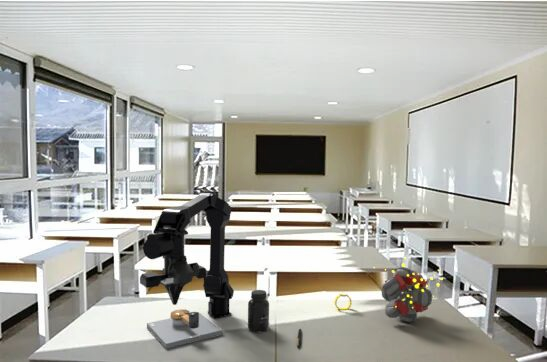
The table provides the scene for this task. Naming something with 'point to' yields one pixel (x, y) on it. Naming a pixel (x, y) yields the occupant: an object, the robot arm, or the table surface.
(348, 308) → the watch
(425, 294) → the molecule model
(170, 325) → the base
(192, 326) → the crank handle
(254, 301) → the supplement bottle
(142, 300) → the table surface
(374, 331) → the table surface
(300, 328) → the fountain pen
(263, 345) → the table surface
